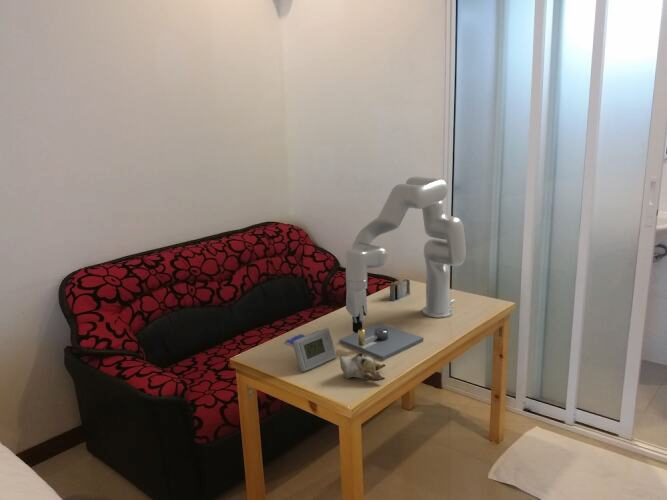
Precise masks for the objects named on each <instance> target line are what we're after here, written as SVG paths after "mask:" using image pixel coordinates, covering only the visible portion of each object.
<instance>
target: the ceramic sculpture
mask: <svg viewBox="0 0 667 500" xmlns="http://www.w3.org/2000/svg"><path fill="white" fill-rule="evenodd" d="M339 364H340V369H341V371H342V373H343V376H344V377H345V379H347V380H349V379H350V378H352V377H353V378H359V379H365V380H369V381H370V382H379V381H383V380H385V379H386V378H385V377H384V376H382V375H381V374H380V373H378V372H377V371H379V370H382V369H383V368H385V367H386V364H385V363H383V364H379V363H376V361H375V359H374V357H372V356H370V355H364V353H363V352H359V353H356V354H355V355H354V356H353V357H348V356H339Z"/></svg>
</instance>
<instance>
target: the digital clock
mask: <svg viewBox="0 0 667 500" xmlns="http://www.w3.org/2000/svg"><path fill="white" fill-rule="evenodd" d="M292 347H293V350H294V352H295V353H294V354H295V356H296V361H297V363H298V366H299V367H298V368H299V370H300V371H301V372H302V373H305V372H307V371H310V370H311V371H312V370H313V369H315V368H318V367H320V366H322V365H324V364H327V363H329V362H330V361H333V360H335V359H336V358H337V352H336V349H335V346H334V342H333V338H332V335H331V331H330V329H329V328H328V327H326V328H322V329H321V330H317V331H314V332H311V333H309V334H306V335H304V336H303V337H301V338H300V339H297V340H295V341H294V342H293V346H292Z"/></svg>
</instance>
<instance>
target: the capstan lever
mask: <svg viewBox="0 0 667 500" xmlns="http://www.w3.org/2000/svg"><path fill="white" fill-rule="evenodd" d="M386 339H388V329H386V328H376V329H375V330H374V335H373V336H371V337H368V338H366V339H365V328H362V329H358V345H360V346H363V345H365V344H366V343H368V342H371V341H373V340H386Z"/></svg>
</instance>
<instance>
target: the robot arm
mask: <svg viewBox="0 0 667 500" xmlns="http://www.w3.org/2000/svg"><path fill="white" fill-rule="evenodd" d="M390 191H391V192H389V195H388V196H387V197H388V198H387V199H386V201H385V203H384V205H383V207H382V208H381V211H380V213H379V214H378V216H377V217H375V218H374V219H373V220H372V221H370V222H369V223H368V224H367V225H365V226H364V227H363V228H362V229H361V230H360V231H359V232H358V233H357V235H356V237H355V240H354V241H353V243H352V245H351V248H350V249H348V250H347V251H346V252H345V286H346V295H345V296H346V297H345V298H346V299H345V308H346V312H348V313H349V315H350V316H351V320H352V332H353V333H358V329H363V322H364V321H365V317H366V316H367V315H368V314H367V313H368V299H367V290H366V289H368V269H374V268H379V267H382V266H384V265H385V264H386V263H387V261H388V258H389V257H388V256H389V255H388V252H387V250H386V249H385V248H384V247H381V246H378V245H375V244H374V245H373V244H372V242H373V240H375V239H376V238H377V237H379V236H380V235H382V234H387V233H389V232H393V231H395V230H397V229H398V228H400V226H401V224H402V222H403V219H404V218H405V216H406V214H407V212H408V210H409V209H417V210H420V209H421V210H422V218H423V219H422V220H423V226H424V232H425V234H426V235H427V236H428V237H429V238H431V239H428V240H427V241H426V242H425V243H424V245H423V256H424V261H425V269H426V270H425V271H426V273H425V306H424V307H423V308H422V312H421V313H422V314H423V315H424V316H426V317H430V318H437V319H438V318H442V319H443V318H447V317H451V316H452V315H453V313H454V310H453V308H452V307H451V306H452V305H453V304H455V302H456V300H455V299H454V298H451V299H450V269H449V266H452V267H460V266H461V265H463V263H464V262H465V261H466V258H467V257H466V256H467V246H466V234H465V228H464V227H465V226H464V224H463V222H462V220H461V219H460V218H459V217H456V216H452V215H447V214H446V213H445V207H444V202H443V200H444V199H446V197H447V195H448V192H449V187H448V184H447V183H446V181H445V180H443V179H441V178H436V177H424V176H411V177H409V178H408V179H406V182H405V183H400V184H399V183H398V184H396V185H395V186H394V187H393V188H392V189H391V190H390Z"/></svg>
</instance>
